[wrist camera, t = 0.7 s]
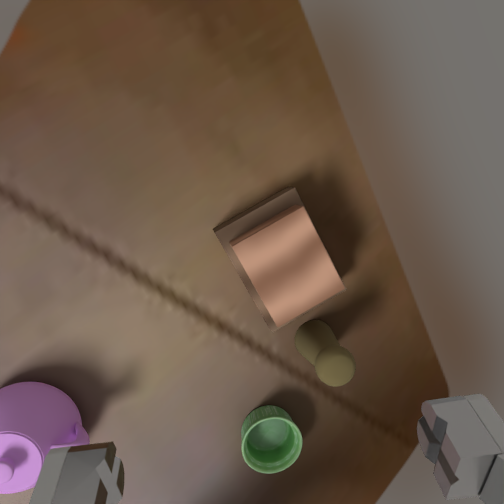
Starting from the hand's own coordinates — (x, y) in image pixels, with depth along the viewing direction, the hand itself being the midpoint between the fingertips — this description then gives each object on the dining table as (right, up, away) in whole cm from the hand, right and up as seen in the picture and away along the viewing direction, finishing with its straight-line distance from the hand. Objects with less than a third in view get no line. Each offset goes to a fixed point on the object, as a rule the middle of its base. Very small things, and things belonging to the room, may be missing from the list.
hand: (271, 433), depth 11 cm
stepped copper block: (+3, +4, +48) cm, 48 cm away
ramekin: (+2, -22, +53) cm, 57 cm away
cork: (+9, -8, +51) cm, 53 cm away
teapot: (-32, -19, +47) cm, 60 cm away
